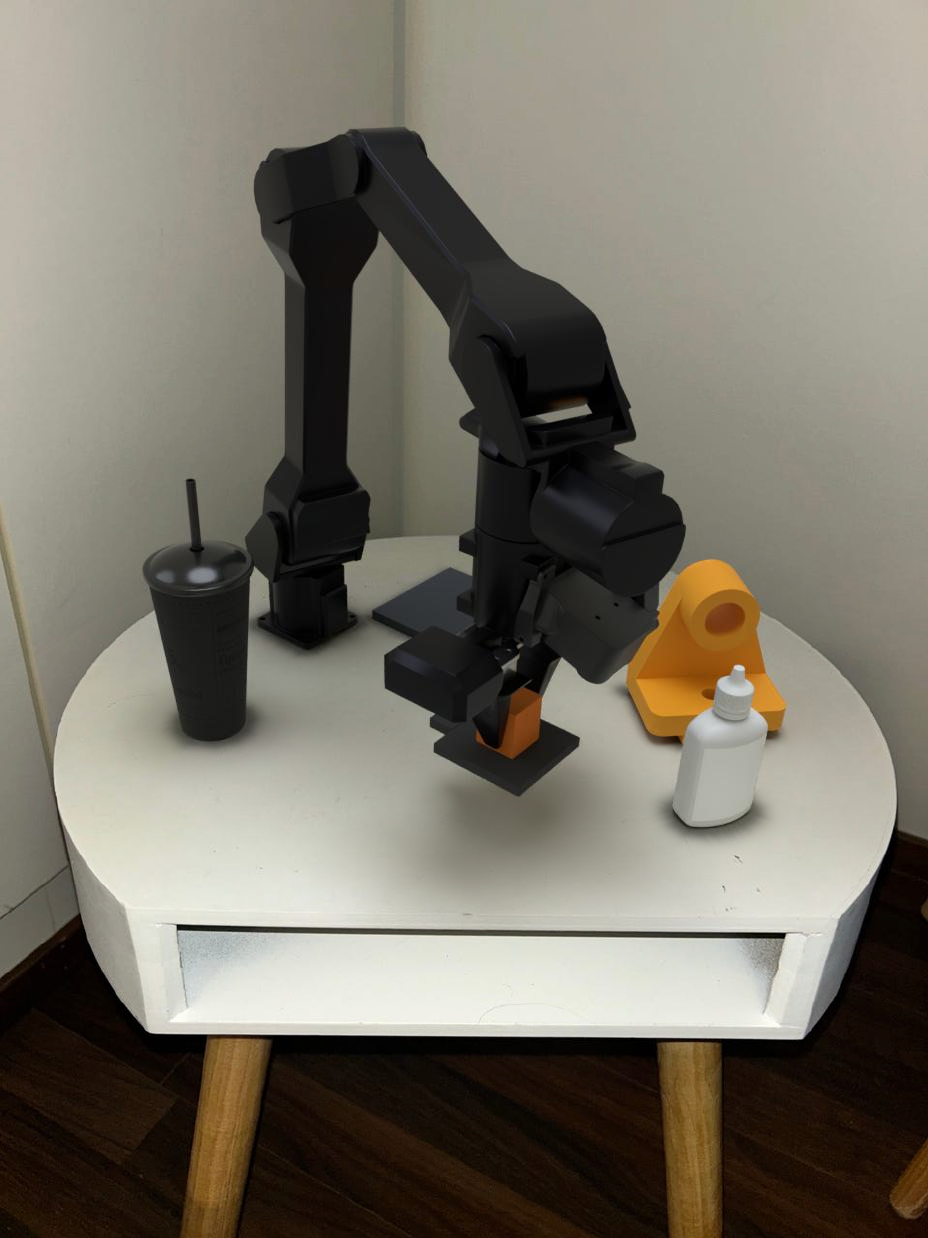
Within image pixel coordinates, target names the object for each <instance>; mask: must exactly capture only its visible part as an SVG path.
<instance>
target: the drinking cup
mask: <svg viewBox="0 0 928 1238" xmlns="http://www.w3.org/2000/svg"><path fill="white" fill-rule="evenodd" d="M184 484H185V492H186V503H187V514H188V522H189V532H190V533H189V534H190V540H185V541H181V542H177V543H176V542H175V543H172V544H169V545H166V546H164V547H161V548H159V549H158V550H156V551H154V552H153V553H151V554H150V555H149V556H147V558H146V559H145V561H144V562H143V564H142V566H141V572H142V578H143V580H144V582H145V583H146V584H147V586H148V587H149V591H150V596H151V600H152V601H151V602H152V605H153V609H154V614H155V618H156V622H157V625H158V627H157V628H158V631H159V635H160V639H161V644H162V648H163V651H164V652H163V653H164V657H165V662H166V666H167V670H168V674H169V679H170V683H171V687H172V692H173V695H174V700H175V704H176V708H177V709H176V710H177V713H178V717H179V722H180V726H181V729H182V731H183V732H184V733H185V734H186V735H187V736H189V737H190V738H192V739H195V740H200V741H207V742H209V741H212V742H213V741H220V740H225V739H227V738H230V737H232V736H234V735H236V734H237V733H239V732H240V731H241V730H242V729H243V728H244V726H245V724H246V720H247V693H248V691H247V689H248V661H249V660H248V657H249V656H248V655H249V626H250V624H249V623H250V597H251V595H250V593H251V590H250V589H251V577H252V575H253V573H254V570H255V567H254V561H253V558H252V556H251V554H250V553H249V552H248V551H247V549H245V548H244V547H242V546H240V545H239V544H235V543H232V542H229V541H225V540H217V539H202V536H201V535H202V534H201V524H200V523H201V522H200V513H199V504H198V503H199V502H198V493H197V492H198V491H197V483H196V478H191V477H189V478H187V479H185V480H184Z"/></svg>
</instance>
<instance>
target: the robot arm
mask: <svg viewBox="0 0 928 1238" xmlns="http://www.w3.org/2000/svg"><path fill="white" fill-rule="evenodd" d="M253 197H254V203H255V206H256V210H257V212H258V215H259V222H260V223H259V224H260V235H261V237H262V239H263V241H264V242H265V244H266V246H267V247H268V249H269V251H270V252H271V254H272V255H273V258H274V259H275V261H276V262H277V264H278V265H279V267H280V268H281V270H282V271H283V277H284V278H283V279H284V453H283V457H281V459H280V461H279V462H278V464H277V465H276V466H275V469H274V470H273V471H272V473H271V475H270V476H269V478H268V479H267V481H266V482H265V484H264V487H263V501H262V511H261V515H260V516H259V518H258V519H257V520H256V522H255V523H254V524H253V526H252V527H251V528H250V530H249V531H248V533H247V534H246V535H245V536H244V542H245V543H244V544H245V547H246V550H247V551H248V552H249V553H250V554H251V556H252V558H253V561H254V569H256V570H257V572H259V573H261V575H262V576H263V577H264V578H265V579H267V581H268V582H267V584H268V598H269V599H268V601H269V611H268V612H266V613H264V614H262V615H260V616H258V617H257V618H256V623H257V624H256V625H258V626H260V627H262V628H263V629H265V630H267V631H270V632H271V633H273V634H275V635H277V636H280V637H281V638H283V639H286V640H287V641H289V642H291V643H293V644H295V645H297V646H299V647H301V648H304V649H311V648H313V647H315V646H317V645H319V644H320V643H323V642H324V641H326V640H328V639H329V638H331V637H333V636H335V635H337V634H339V633H340V632H342V631H344V630H345V629H347V628H349V627H351V626H352V625H354V624H356V623H358V621H359V616H358V614H356V613H354V612H352V611H349V610H348V609H349V608H348V607H349V605H348V604H349V603H348V602H349V601H348V600H349V599H348V585H347V584H346V581H345V580H346V579H345V578H346V577H345V565H344V564H347V563H351V562H359V561H361V560H362V559H363V554H364V550H365V546H366V541H367V536H368V534H371V527H370V523H371V519H370V507H371V501H372V497H371V496H370V494H369V492H368V491H367V489H365V488H364V487H363V485H362V484H361V483H360V481H359V480H358V478H357V477H356V475H355V474H354V472H353V470H352V469H351V468H350V466H349V464H348V449H349V448H348V447H349V446H348V444H349V415H350V414H349V413H350V392H351V391H350V389H351V364H352V363H351V361H352V335H353V334H352V333H353V310H354V309H353V307H354V306H353V305H354V287H355V283H356V281H357V279H358V277H359V276H360V275H361V273H362V271H363V269H364V268H365V267H366V265H367V263H368V261H370V258H371V257H372V255H373V253H374V252H375V250H376V249H377V247H378V245H379V244H378V243H379V238H380V233H381V235H382V236H383V238H384V240H386V242H387V243H388V245H389V246H390V247H391V248H392V250H393V251H394V252H395V254H396V255H397V256H398V259H400V261H401V262H402V263H403V264H404V265H405V267H406V268H407V270H408V271H409V272H410V274H411V275H412V276H413V278H414V279H415V280H416V281H417V283H418V285H420V287H421V288H422V290H423V291H424V292H425V294H426V295H427V296H428V298H429V299H430V300H431V303H433V304H434V306H435V307H436V308H437V309H438V311H439V313H440V314H441V317H442V318H443V319H444V321H445V323H446V324H447V326H448V327H447V328H449V337H448V354H447V355H448V356H447V358H448V361H449V364H450V366H451V367H452V369H453V371H454V373H455V375H456V376H457V378H458V381H459V382H460V384H461V386H462V387H463V389H464V391H465V393H466V395H467V397H468V399H469V400H470V403H471V404H472V406H473V409H471V410H469V411H467V412H466V413H465V414H464V415H462V416H460V418H459V419H458V425H459V427H460V428H461V430H463V431H464V432H467V433H468V434H469V435H472V436H473V437H474V438H477V439H478V447H477V448H478V449H477V465H476V466H477V467H476V487H475V506H474V507H475V508H474V525H473V526H474V527H473V528H471V529H469V530H468V531H466V532H463V533H462V534H460V535H459V536H458V552H460V553H463V554H465V555H468V556H471V557H472V569H471V576H472V587H471V588H470V589H468V590H466V591H464V592H463V593H461V594H459V595H458V596H457V605H456V610H457V611H460V612H462V613H464V614H467V615H469V616H471V617H473V622H474V624H472V625H471V626H469V627H467V628H466V629H464V630H463V631H461V632H459V633H458V634H457V635H455V634H452V633H450V632H448V631H446V630H443V629H441V628H439V627H437V626H435V625H432V626H431V627H429V628H427V629H426V630H424V631H422V632H421V633H419V634H417V635H416V636H414V637H413V636H411V638H409V639H407V640H405V641H404V642H402V643H400V644H399V645H397V646H396V647H394V648H393V649H391V650H389V651H388V652H386V653H385V654H383V686H384V689H385V690H387V691H389V692H391V693H393V694H395V695H396V696H399V697H400V698H403V699H405V700H406V701H409V702H411V703H413V704H414V705H417V706H418V707H420V708H423V709H425V710H426V711H428V712H430V713H432V714H433V715H435V714H436V715H438V716H440V717H442V718H444V719H446V720H448V721H450V722H452V723H459V722H467V721H469V720H470V719H471V718H472V720H473V722H474V724H475V726H476V728H477V730H478V732H479V734H480V736H481V737H482V739H483V741H484V743H485V744H486V745H488V746H490V747H492V748H494V749H498V748H500V747H501V744H502V741H503V737H504V734H505V729H506V724H507V718H508V713H509V708H510V702H511V697H512V694H514V693H515V692H517V691H518V690H519V689H521V688H522V687H525V688H527V689H529V690H531V691H533V692H535V693H537V694H540V695H542V699H543V697H544V695H545V693H546V691H547V688H548V686H549V684H550V683H551V680H552V678H553V676H554V673H555V672H556V670H557V668H558V666H559V663H560V661H561V660H564V661H565V662H567V663H568V664H569V665H570V666H572V667H573V668H574V669H575V670H576V673H577V674H578V676H579V677H580V678H582V679H583V680H584V681H585V682H588V683H590V684H594V685H603V684H604V683H606V682H608V681H609V680H610V679H611V677H612V676H614V675H615V674H617V672H618V671H620V670H622V668H624V667H625V666H628V664H629V663H630V662H631V661H632V660H633V658H634V656H635V655H636V653H637V651H638V650H639V648H640V646H641V645H642V643H643V642H644V640H645V638H646V637H647V636H648V635H649V634H650V633H652V632H653V631H654V630H656V629H657V628H658V627H659V621H658V619H657V617H658V615H659V614H660V612H659V608H658V607H659V605H660V582H661V581H663V580H664V578H665V577H666V576H667V575H668V573H669V572H670V571H671V570H672V568H673V567H674V565H675V564H676V562H677V560H678V558H679V556H680V553H681V551H682V549H683V545H684V542H685V538H686V534H687V533H686V532H687V525H686V524H685V523H684V518H683V512H682V509H681V507H680V505H679V503H678V502H677V501H676V500H675V499H674V498H673V497H672V496H670V495H668V494H666V493H665V492H663V489H664V484H665V483H664V482H665V478H666V477H665V473H664V471H663V470H662V469H661V468H659V467H656V466H654V465H653V464H651V463H649V462H645V461H638V460H636V459H634V458H632V457H629V456H627V455H625V454H624V453H622V452H620V451H618V450H616V449H615V447H616V446H619V445H623V444H628V443H631V442H634V441H636V439H637V431H636V428H635V424H634V422H633V419H632V415H631V412H630V409H631V408H632V406H631V405H632V404H631V403H630V401H629V398H628V397H627V395H626V392H625V391H624V388H623V386H622V384H621V382H620V377H619V375H618V372H617V368H616V366H615V362H614V360H613V359H614V358H613V356H612V354H611V353H612V352H611V350H610V347H609V344H608V340H607V339H608V337H607V334H606V332H605V329H604V327H603V325H602V323H601V322H600V320H599V318H598V317H597V315H596V314H595V313H594V312H593V311H592V309H591V308H590V307H588V306H587V305H586V304H585V303H584V302H582V301H581V300H580V299H579V298H578V297H576V296H575V295H574V294H573V293H572V292H570V291H569V290H568V289H567V288H565V286H563V285H562V284H560V283H559V282H557V281H556V280H553V279H550V278H548V277H545V276H542V275H540V274H538V273H536V272H533V271H530V270H528V269H526V268H523V267H521V265H519V264H518V263H517V262H516V261H514V259H512V258H511V257H510V256H509V255H508V254H507V252H506V251H505V250H504V249H503V248H502V246H501V244H499V242H498V241H497V240H496V239H495V238H494V236H493V235H492V234H491V233H490V232H489V230H488V229H487V228H486V226H485V225H484V224H483V223H482V222H481V220H480V219H479V218H478V217H477V215H476V214H475V213H474V212H473V211H472V209H471V208H470V207H469V205H467V204H466V203H467V202H465V201H464V200H463V199H462V197H461V196H460V195H459V193H458V192H457V191H456V190H455V189H454V187H453V186H452V185H451V184H450V183H449V182H448V180H447V178H445V176H444V175H443V174H442V173H441V172H440V170H439V169H438V168H437V167H436V165H435V164H434V163H433V161H432V160H431V159H430V157H428V152H427V148H426V145H425V142H424V140H423V139H422V137H421V135H420V134H419V133H418V132H417V131H415V130H410V129H408V128H407V127H406V126H386V127H385V126H384V127H383V126H382V127H381V126H380V127H365V128H364V127H362V128H359V127H358V128H349V129H347V131H345V132H344V133H341V134H340V133H339V134H337V135H336V136H334V137H332V138H330V139H328V140H327V141H324V142H323V141H322V142H319V143H317V144H312V145H307V146H306V145H305V146H289V147H274V148H273V149H272V150H270V151H269V153H268V155H267V156H266V158H265V160H261V161H260V163H259V164H258V168H257V170H256V171H255V174H254V179H253ZM585 405H587V408H589V410H590V412H591V413H587V414H582V415H577V416H573V417H567V418H564V419H558V420H554V421H550V422H548V421H547V420H545V419H544V418H541V417H539V416H541V415H546V414H551V413H554V412H555V413H556V412H560V411H565V410H569V409H575V408H580V407H584V406H585Z"/></svg>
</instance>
